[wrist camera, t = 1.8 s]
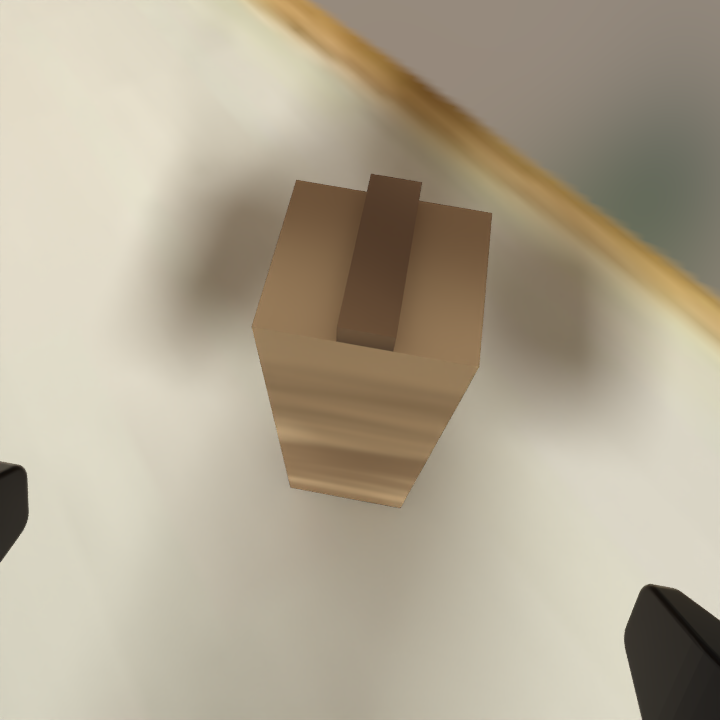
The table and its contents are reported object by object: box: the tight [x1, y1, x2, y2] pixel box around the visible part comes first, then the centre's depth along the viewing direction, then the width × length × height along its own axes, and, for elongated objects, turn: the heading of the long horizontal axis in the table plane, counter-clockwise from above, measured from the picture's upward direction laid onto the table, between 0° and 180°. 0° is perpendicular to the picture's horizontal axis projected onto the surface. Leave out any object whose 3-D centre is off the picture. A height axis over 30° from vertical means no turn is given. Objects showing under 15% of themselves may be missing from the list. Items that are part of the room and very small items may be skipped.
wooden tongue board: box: [252, 174, 492, 508], centre depth 15 cm, size 4×4×12 cm
